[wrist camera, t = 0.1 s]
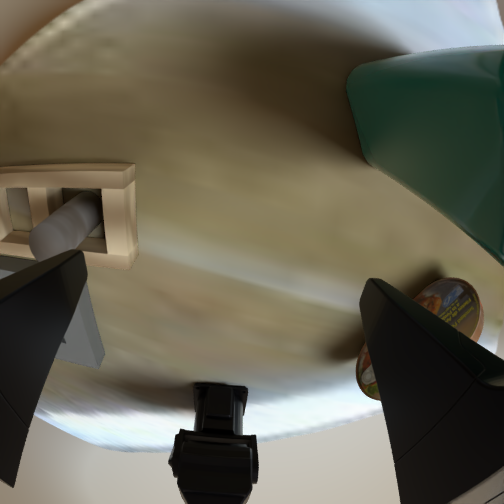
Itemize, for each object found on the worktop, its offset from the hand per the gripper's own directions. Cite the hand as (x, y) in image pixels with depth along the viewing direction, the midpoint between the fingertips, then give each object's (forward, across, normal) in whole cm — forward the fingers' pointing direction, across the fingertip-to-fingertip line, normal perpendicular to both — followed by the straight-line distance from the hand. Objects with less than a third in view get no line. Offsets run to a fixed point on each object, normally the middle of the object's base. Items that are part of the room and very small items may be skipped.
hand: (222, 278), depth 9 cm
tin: (+15, -19, +13) cm, 28 cm away
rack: (+15, +20, +4) cm, 25 cm away
